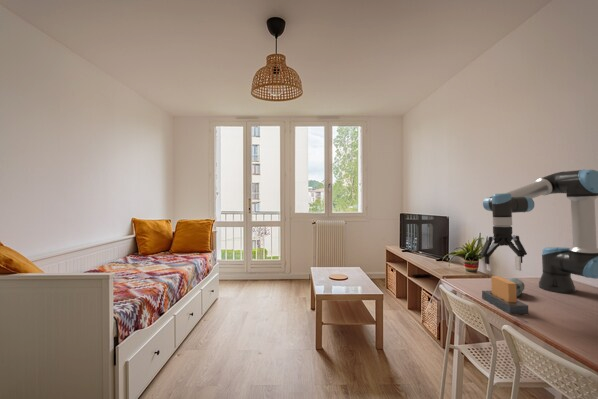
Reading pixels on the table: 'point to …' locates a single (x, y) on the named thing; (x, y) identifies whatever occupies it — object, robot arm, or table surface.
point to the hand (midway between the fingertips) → (503, 270)
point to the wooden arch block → (504, 289)
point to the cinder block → (505, 304)
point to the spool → (518, 285)
